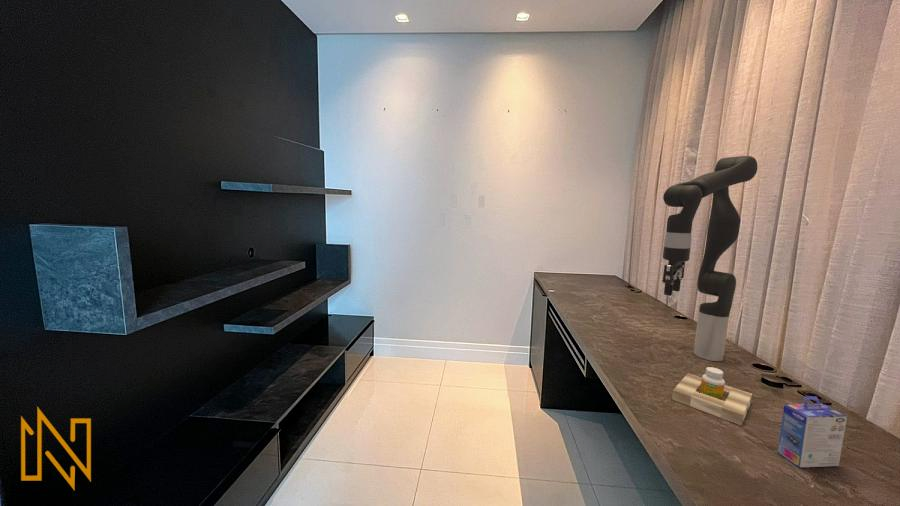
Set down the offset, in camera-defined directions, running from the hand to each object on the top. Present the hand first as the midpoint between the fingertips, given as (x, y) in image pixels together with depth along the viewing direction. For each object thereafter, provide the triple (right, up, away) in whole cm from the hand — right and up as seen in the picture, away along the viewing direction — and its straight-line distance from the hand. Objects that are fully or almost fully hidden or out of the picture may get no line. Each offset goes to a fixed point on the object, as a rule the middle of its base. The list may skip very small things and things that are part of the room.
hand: (671, 292), depth 117 cm
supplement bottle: (+1, -30, -16) cm, 34 cm away
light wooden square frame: (+1, -30, -16) cm, 34 cm away
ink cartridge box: (+6, -34, -38) cm, 52 cm away
